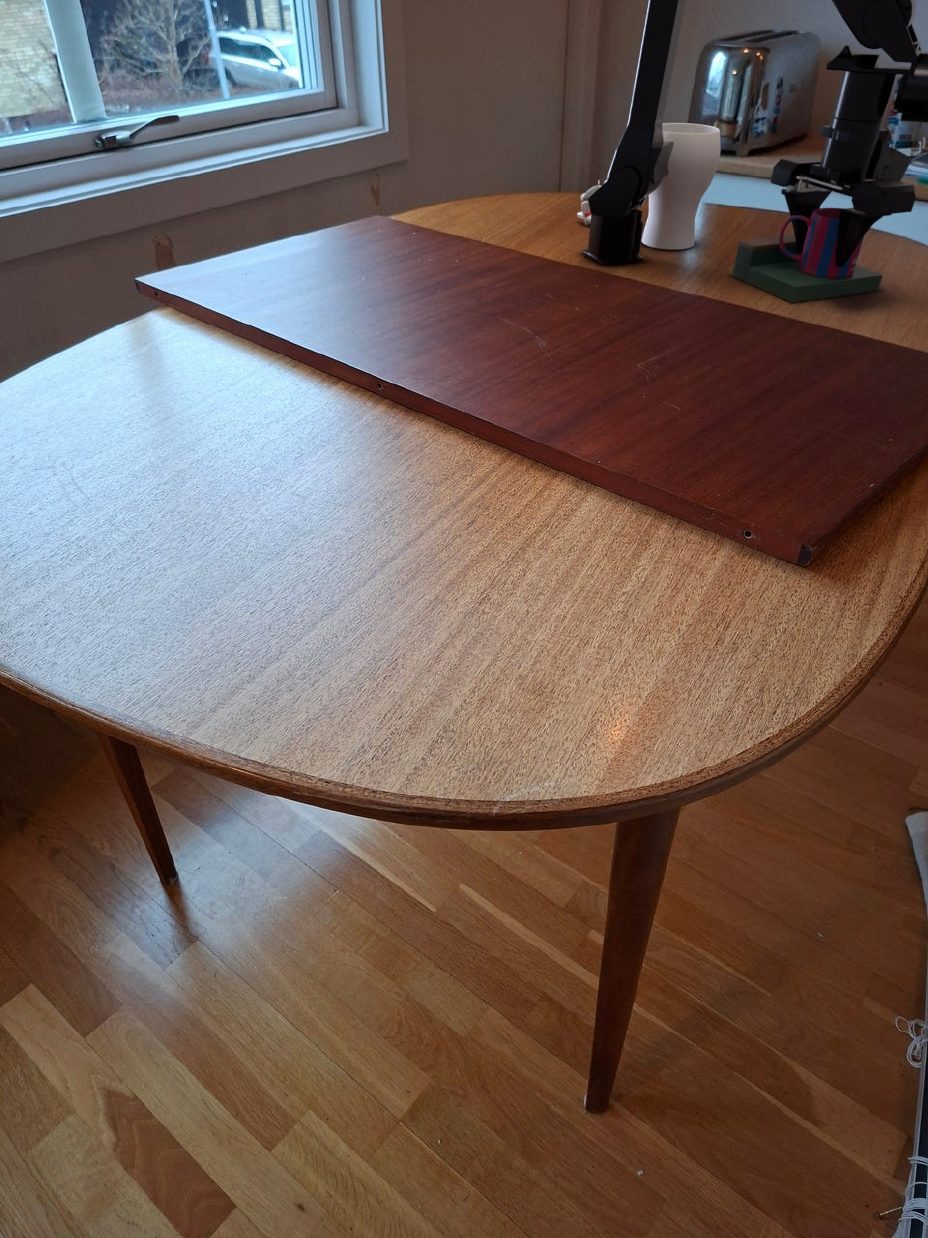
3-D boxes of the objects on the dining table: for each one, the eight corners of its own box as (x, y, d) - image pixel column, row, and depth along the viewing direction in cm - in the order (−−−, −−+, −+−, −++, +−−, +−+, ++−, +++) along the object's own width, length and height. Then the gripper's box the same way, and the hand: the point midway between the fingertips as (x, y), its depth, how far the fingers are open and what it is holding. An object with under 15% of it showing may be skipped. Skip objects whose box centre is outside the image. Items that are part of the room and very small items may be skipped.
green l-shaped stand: (791, 303, 105) (800, 265, 102) (732, 275, 114) (739, 240, 111) (878, 290, 109) (889, 254, 107) (814, 265, 118) (823, 230, 115)
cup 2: (853, 281, 106) (870, 222, 102) (770, 272, 108) (784, 214, 104) (852, 266, 111) (868, 210, 107) (773, 258, 113) (786, 202, 109)
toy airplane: (635, 218, 138) (641, 174, 134) (626, 232, 131) (632, 186, 127) (580, 213, 140) (584, 170, 136) (568, 226, 133) (572, 181, 129)
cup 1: (617, 241, 126) (630, 126, 117) (660, 230, 132) (676, 119, 123) (675, 257, 120) (694, 137, 111) (718, 244, 126) (739, 129, 117)
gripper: (974, 127, 94) (924, 273, 104) (854, 104, 107) (820, 235, 117) (898, 132, 91) (854, 282, 100) (783, 107, 104) (754, 242, 114)
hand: (820, 258), depth 108 cm, fingers closed on cup 2, 7 cm apart
